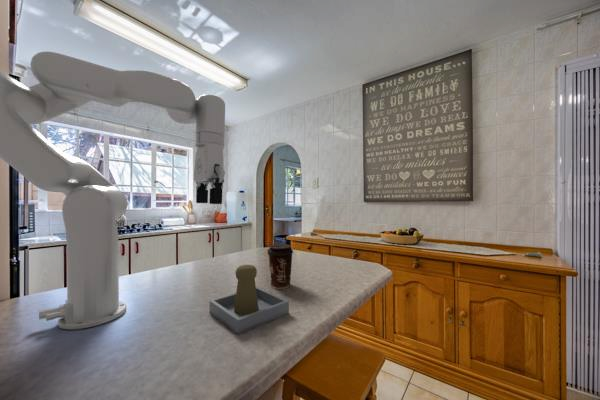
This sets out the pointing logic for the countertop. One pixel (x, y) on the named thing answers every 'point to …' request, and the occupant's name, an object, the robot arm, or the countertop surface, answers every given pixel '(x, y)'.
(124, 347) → the countertop surface
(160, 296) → the countertop surface
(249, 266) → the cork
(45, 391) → the countertop surface
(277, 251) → the coffee cup
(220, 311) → the tray
